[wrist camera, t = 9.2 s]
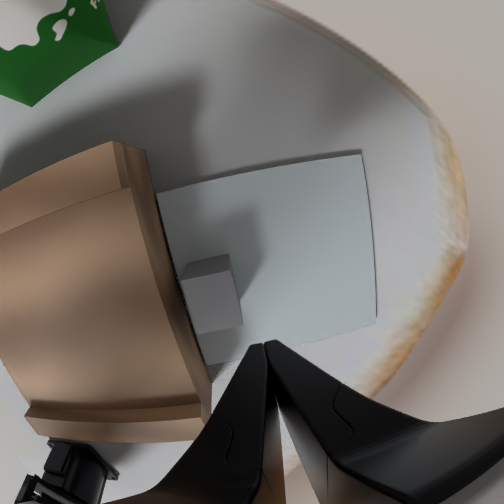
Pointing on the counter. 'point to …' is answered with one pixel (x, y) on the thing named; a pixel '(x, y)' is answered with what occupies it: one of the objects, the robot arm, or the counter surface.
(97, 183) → the walnut box
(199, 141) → the counter surface
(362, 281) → the cover plate
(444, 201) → the counter surface
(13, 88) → the milk carton
